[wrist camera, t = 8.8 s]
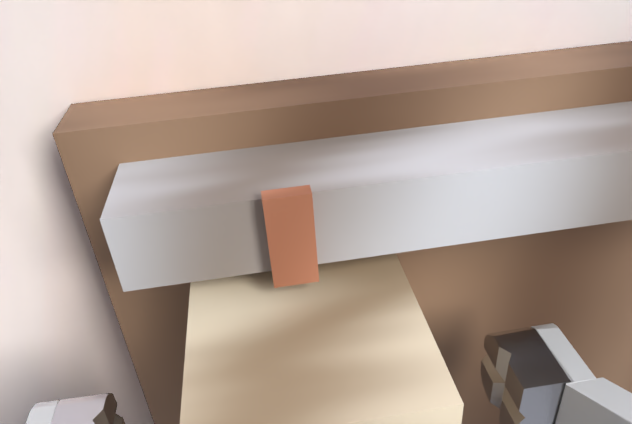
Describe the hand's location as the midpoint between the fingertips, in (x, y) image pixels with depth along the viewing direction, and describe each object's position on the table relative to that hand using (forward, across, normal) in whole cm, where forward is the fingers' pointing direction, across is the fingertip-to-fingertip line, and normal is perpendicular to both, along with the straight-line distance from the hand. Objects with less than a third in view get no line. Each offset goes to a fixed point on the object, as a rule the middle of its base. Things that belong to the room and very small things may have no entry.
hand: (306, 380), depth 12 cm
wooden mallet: (+2, 0, +2) cm, 3 cm away
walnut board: (+3, -7, +1) cm, 8 cm away
